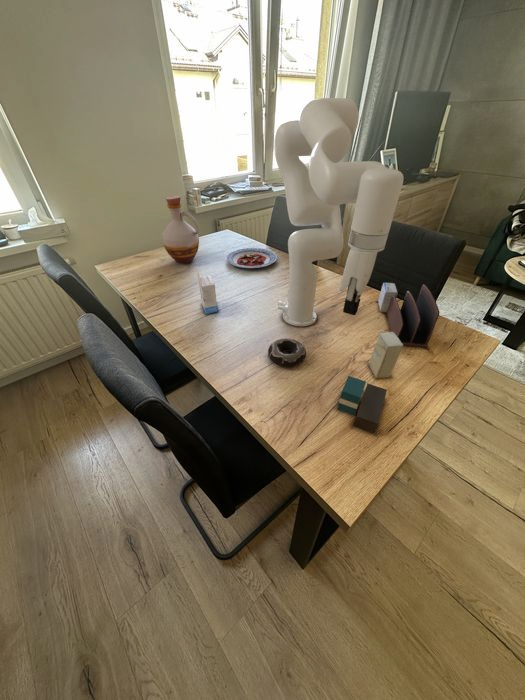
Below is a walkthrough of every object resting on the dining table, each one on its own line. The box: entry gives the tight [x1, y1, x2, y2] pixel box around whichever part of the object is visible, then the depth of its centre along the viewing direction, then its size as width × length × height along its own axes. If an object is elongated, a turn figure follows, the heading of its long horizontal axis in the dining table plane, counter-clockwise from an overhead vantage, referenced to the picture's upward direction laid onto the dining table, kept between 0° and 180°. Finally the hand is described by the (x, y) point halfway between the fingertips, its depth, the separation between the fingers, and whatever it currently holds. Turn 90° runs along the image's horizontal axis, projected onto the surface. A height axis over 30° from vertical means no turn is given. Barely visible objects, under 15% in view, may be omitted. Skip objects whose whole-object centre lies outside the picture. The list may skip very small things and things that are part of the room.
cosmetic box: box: [368, 331, 404, 379], centre depth 81 cm, size 6×4×12 cm
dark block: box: [352, 382, 388, 435], centre depth 72 cm, size 5×12×4 cm, turn 152°
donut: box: [267, 337, 307, 368], centre depth 89 cm, size 12×12×4 cm
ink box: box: [196, 270, 219, 315], centre depth 108 cm, size 8×5×15 cm, turn 20°
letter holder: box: [386, 284, 440, 348], centre depth 97 cm, size 10×20×14 cm, turn 169°
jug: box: [161, 195, 200, 264], centre depth 140 cm, size 20×18×30 cm
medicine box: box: [377, 282, 398, 313], centre depth 110 cm, size 8×4×9 cm, turn 168°
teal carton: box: [337, 375, 367, 417], centre depth 73 cm, size 8×6×8 cm
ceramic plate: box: [226, 247, 278, 269], centre depth 148 cm, size 26×26×3 cm
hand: (349, 312), depth 72 cm, fingers closed
